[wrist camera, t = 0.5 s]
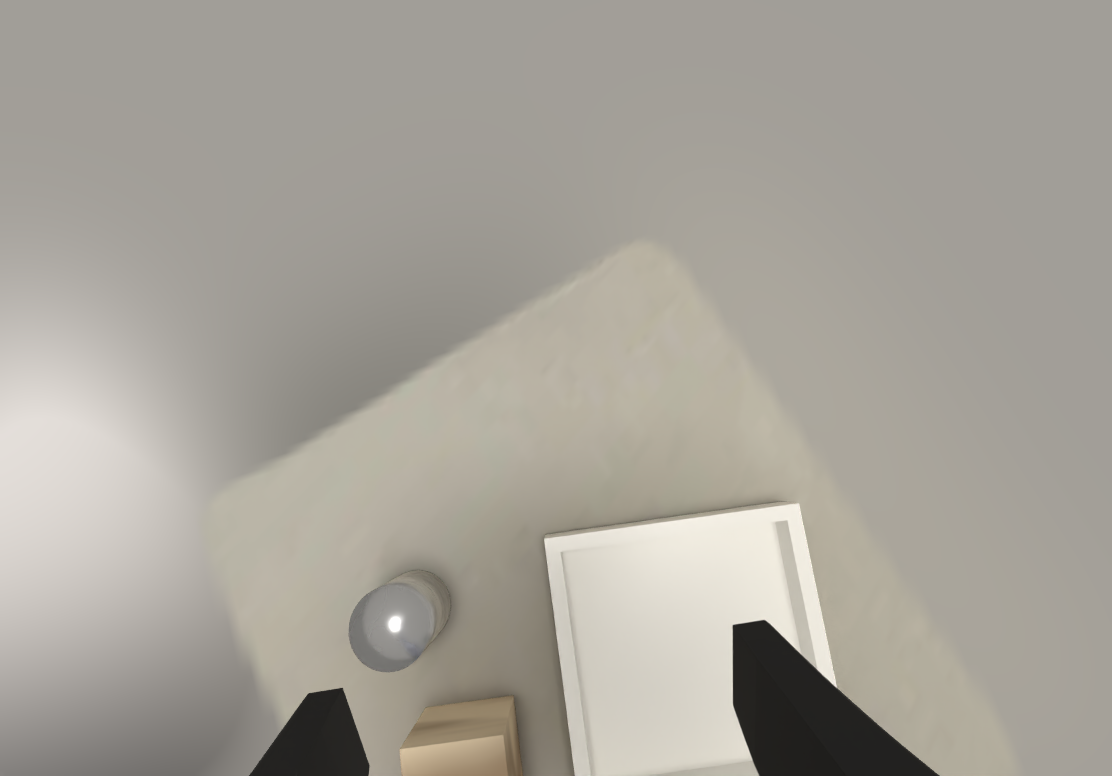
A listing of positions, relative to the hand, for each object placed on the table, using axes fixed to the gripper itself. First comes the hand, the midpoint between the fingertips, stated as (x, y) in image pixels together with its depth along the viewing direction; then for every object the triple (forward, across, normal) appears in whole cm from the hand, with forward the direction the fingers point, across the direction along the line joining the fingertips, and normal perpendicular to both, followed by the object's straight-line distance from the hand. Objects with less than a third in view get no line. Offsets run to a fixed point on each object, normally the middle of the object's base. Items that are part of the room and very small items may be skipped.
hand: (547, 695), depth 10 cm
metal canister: (+19, +8, +13) cm, 24 cm away
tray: (+16, -7, +17) cm, 24 cm away
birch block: (+15, +6, +20) cm, 26 cm away
